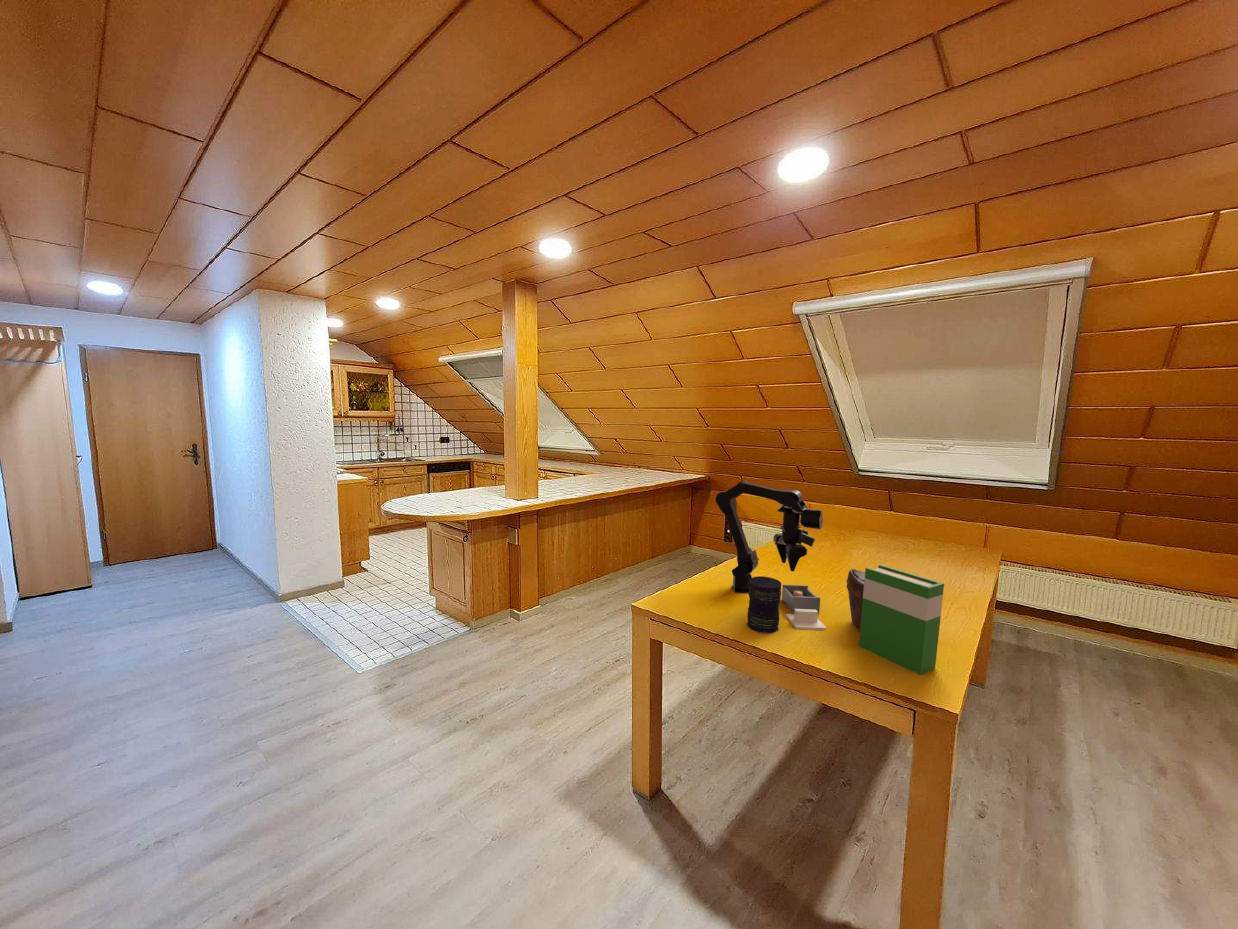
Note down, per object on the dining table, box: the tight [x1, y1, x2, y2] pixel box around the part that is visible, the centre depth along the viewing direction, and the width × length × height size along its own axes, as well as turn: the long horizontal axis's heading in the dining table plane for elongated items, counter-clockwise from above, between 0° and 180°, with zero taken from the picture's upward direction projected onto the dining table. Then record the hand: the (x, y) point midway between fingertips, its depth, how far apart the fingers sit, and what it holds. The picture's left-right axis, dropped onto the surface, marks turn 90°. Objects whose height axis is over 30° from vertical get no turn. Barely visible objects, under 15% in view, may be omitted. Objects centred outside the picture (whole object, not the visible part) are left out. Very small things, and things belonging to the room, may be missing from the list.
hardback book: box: [858, 564, 945, 676], centre depth 137 cm, size 18×7×24 cm, turn 30°
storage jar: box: [746, 575, 782, 634], centre depth 154 cm, size 10×10×15 cm
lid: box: [785, 609, 827, 631], centre depth 159 cm, size 10×10×5 cm
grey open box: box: [781, 584, 821, 615], centre depth 172 cm, size 9×12×6 cm
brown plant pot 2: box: [846, 568, 865, 630], centre depth 156 cm, size 18×20×18 cm
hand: (788, 567), depth 176 cm, fingers open, 9 cm apart
